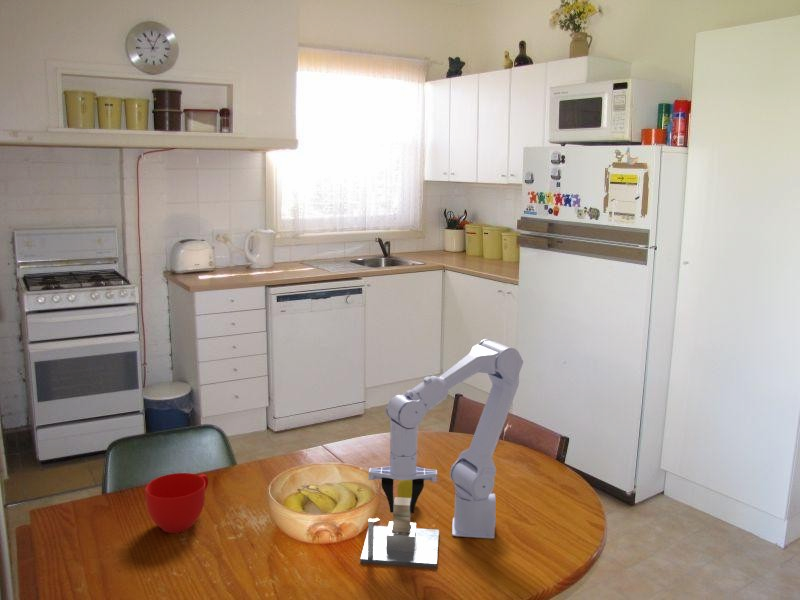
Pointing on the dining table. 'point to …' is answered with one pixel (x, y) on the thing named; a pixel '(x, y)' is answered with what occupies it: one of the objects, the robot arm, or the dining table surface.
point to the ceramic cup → (176, 500)
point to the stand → (400, 546)
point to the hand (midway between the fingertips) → (402, 510)
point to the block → (401, 514)
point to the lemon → (404, 488)
